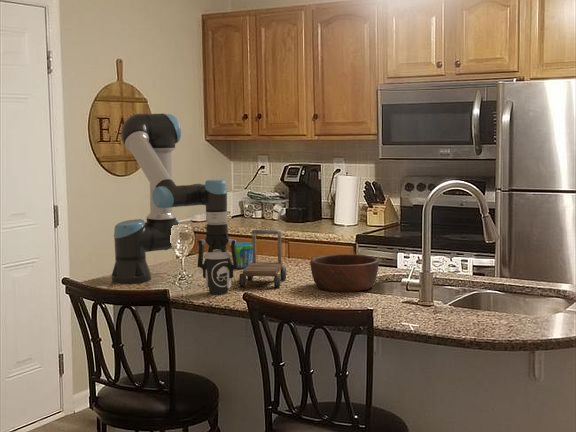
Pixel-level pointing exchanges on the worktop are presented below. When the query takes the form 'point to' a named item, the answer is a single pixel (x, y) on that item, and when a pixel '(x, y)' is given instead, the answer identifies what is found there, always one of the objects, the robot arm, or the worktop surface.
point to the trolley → (264, 263)
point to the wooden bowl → (344, 272)
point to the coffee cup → (217, 271)
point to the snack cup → (244, 254)
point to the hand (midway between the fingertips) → (218, 286)
